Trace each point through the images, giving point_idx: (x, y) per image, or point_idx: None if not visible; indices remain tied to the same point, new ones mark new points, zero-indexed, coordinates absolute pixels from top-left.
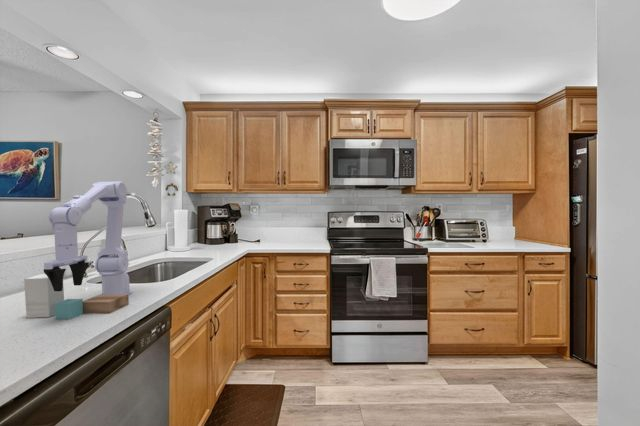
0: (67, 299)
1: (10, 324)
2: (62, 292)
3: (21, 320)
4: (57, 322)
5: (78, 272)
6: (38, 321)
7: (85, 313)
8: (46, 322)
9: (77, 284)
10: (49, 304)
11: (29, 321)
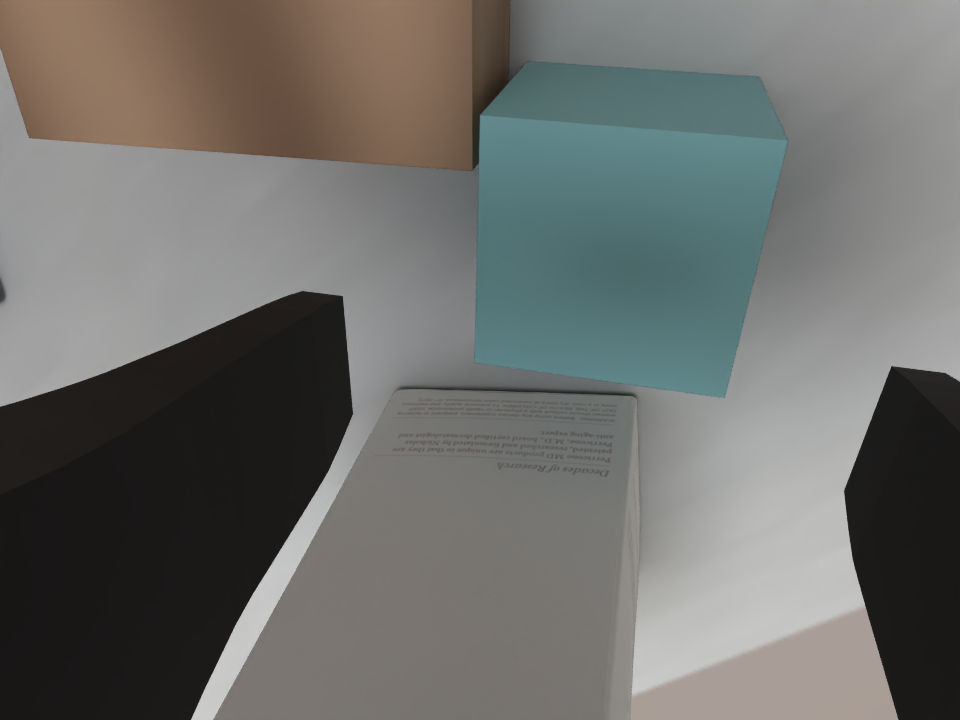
0: (510, 349)
1: (821, 593)
2: (340, 538)
3: (703, 574)
4: (885, 164)
5: (162, 538)
6: (776, 414)
7: (509, 37)
8: (843, 306)
9: (336, 360)
10: (615, 488)
11: (754, 496)
